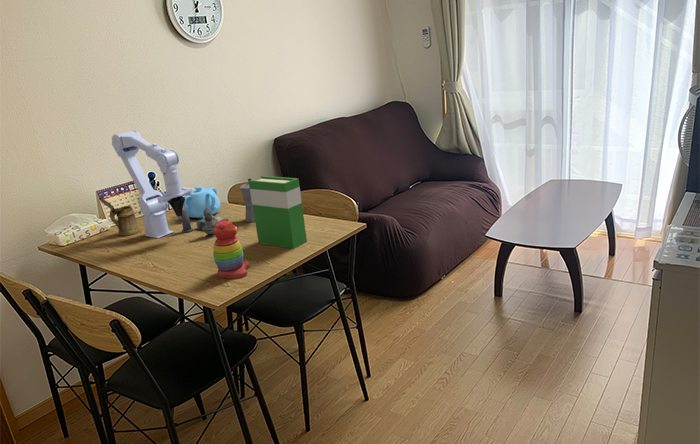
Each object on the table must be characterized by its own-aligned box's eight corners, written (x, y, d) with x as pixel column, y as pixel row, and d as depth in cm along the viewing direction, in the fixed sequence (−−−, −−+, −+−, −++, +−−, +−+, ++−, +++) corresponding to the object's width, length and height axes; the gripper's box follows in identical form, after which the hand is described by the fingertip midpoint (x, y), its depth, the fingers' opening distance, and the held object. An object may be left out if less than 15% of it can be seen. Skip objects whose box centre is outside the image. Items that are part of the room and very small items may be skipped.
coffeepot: (239, 218, 228) (232, 179, 222) (258, 213, 233) (252, 174, 227) (255, 226, 216) (248, 184, 210) (275, 220, 221) (269, 179, 215)
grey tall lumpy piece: (205, 234, 212) (200, 206, 208) (220, 232, 212) (214, 204, 208) (202, 239, 206) (197, 210, 202) (217, 237, 206) (212, 208, 203)
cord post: (180, 232, 218) (175, 211, 215) (188, 228, 221) (184, 208, 218) (186, 233, 215) (182, 212, 212) (195, 230, 218) (191, 209, 216)
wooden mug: (105, 237, 221) (94, 197, 215) (135, 227, 230) (125, 188, 225) (114, 240, 215) (103, 199, 210) (144, 230, 225) (135, 190, 219)
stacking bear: (246, 277, 165) (237, 224, 159) (214, 281, 165) (204, 228, 159) (250, 264, 175) (241, 214, 170) (220, 267, 175) (210, 217, 169)
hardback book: (258, 242, 195) (248, 180, 188) (271, 236, 201) (262, 175, 194) (293, 248, 185) (284, 183, 178) (306, 241, 191) (298, 178, 184)
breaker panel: (197, 228, 220) (195, 218, 219) (212, 222, 226) (210, 212, 225) (214, 231, 214) (212, 221, 212) (229, 225, 220) (227, 215, 218)
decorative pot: (218, 218, 232) (213, 189, 228) (182, 222, 231) (176, 193, 227) (224, 208, 247) (219, 180, 243) (190, 212, 247) (184, 184, 242)
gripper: (162, 188, 194) (170, 222, 198) (194, 178, 205) (200, 211, 209) (151, 186, 198) (159, 220, 202) (183, 177, 209) (189, 209, 213)
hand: (179, 215), depth 206 cm, fingers closed
